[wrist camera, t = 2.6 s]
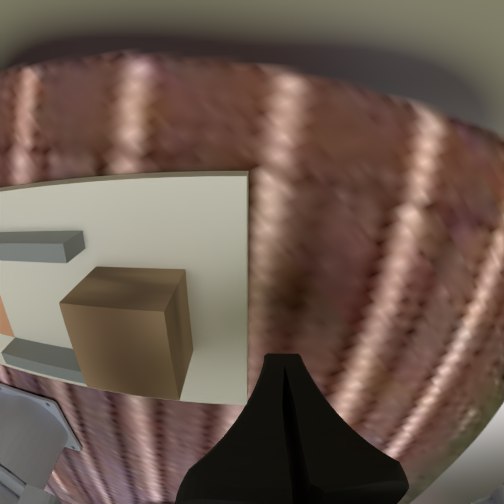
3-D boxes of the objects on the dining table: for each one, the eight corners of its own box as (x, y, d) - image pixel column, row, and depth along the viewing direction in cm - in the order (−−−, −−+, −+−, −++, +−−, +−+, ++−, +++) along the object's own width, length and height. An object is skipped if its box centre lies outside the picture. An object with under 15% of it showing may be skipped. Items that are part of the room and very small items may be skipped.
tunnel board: (-54, 330, 22) (-75, 349, 18) (-90, 205, 17) (-117, 217, 13) (248, 384, 21) (245, 428, 17) (248, 170, 16) (244, 183, 12)
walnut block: (113, 342, 18) (87, 386, 14) (96, 266, 16) (58, 303, 12) (193, 350, 17) (179, 400, 14) (185, 269, 16) (163, 312, 12)
